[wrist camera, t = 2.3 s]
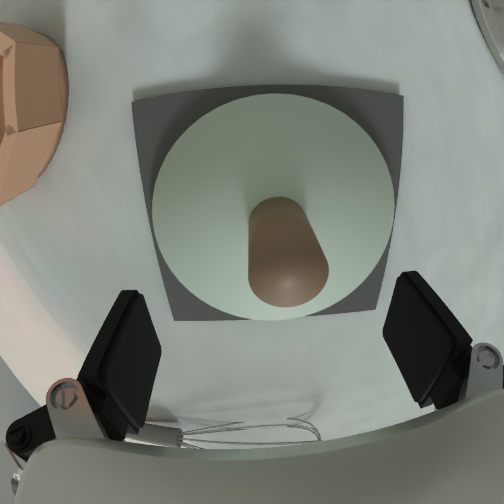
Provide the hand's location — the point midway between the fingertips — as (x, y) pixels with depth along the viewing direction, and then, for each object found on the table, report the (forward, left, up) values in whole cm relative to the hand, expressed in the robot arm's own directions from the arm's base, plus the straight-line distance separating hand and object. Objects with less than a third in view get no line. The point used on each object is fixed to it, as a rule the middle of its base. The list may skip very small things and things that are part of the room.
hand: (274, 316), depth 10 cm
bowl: (+17, -11, -8) cm, 22 cm away
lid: (-1, -1, -8) cm, 7 cm away
